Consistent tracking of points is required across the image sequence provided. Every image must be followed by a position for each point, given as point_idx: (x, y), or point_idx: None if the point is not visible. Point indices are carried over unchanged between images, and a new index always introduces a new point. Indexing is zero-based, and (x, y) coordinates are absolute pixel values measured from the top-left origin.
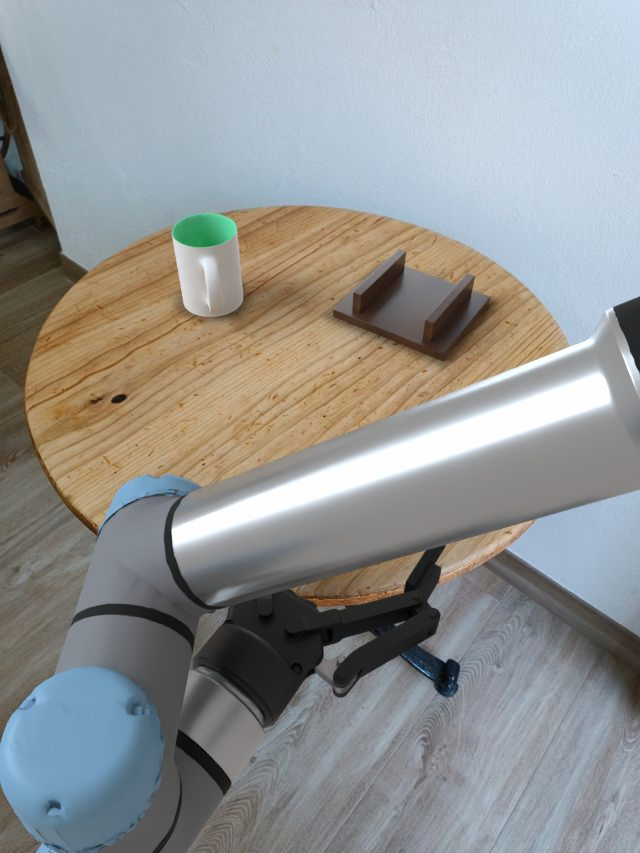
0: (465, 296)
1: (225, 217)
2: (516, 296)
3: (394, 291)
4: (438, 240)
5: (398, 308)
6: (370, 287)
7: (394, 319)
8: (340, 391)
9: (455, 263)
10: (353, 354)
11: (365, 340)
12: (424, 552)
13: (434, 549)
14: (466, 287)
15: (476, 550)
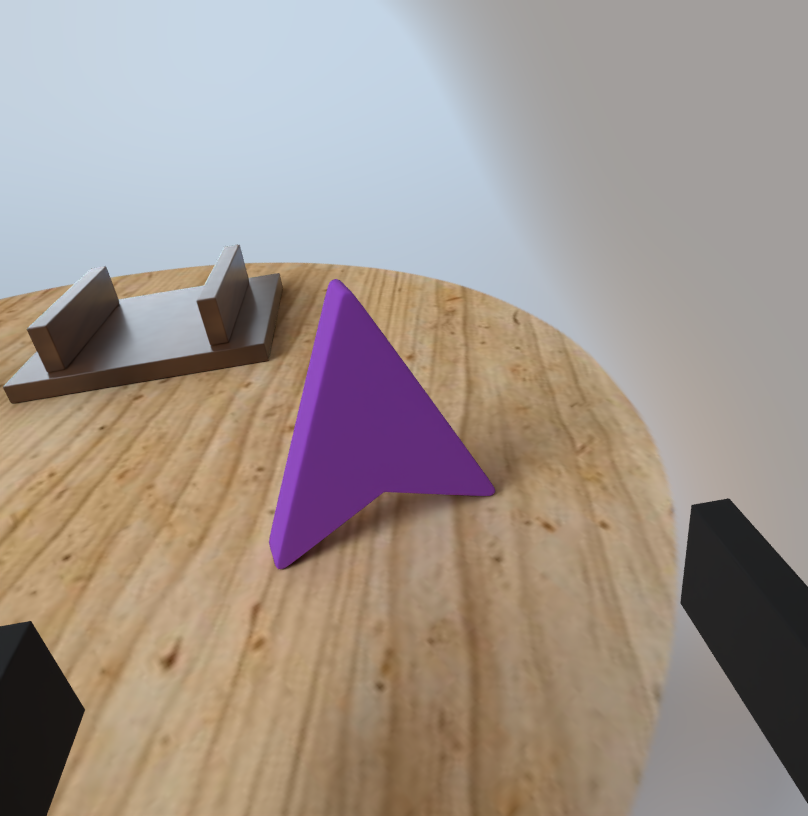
0: (242, 277)
1: None
2: (313, 269)
3: (117, 325)
4: (155, 273)
5: (138, 336)
6: (61, 314)
7: (139, 348)
8: (86, 493)
9: (198, 279)
10: (85, 429)
11: (100, 402)
12: (797, 639)
13: (803, 597)
14: (236, 257)
15: (676, 590)
